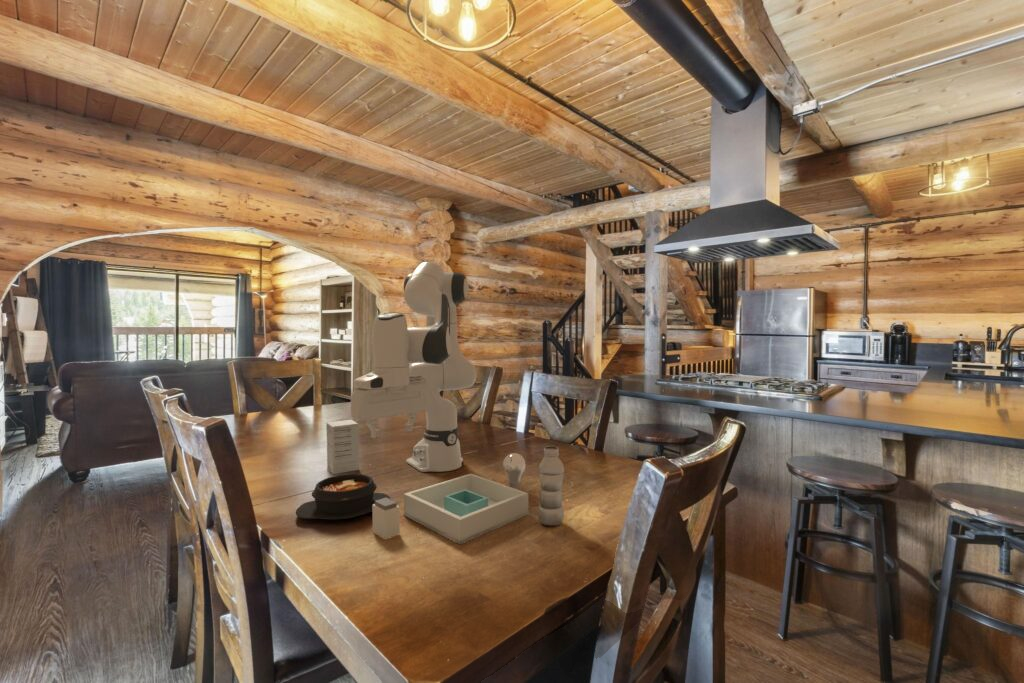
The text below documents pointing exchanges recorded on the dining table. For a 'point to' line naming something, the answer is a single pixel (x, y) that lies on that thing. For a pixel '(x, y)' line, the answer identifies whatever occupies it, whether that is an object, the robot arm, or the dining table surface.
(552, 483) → the plastic bottle
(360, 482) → the casserole
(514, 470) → the light bulb
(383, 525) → the grey-topped white block
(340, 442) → the supplement box
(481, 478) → the walled box
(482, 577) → the dining table surface
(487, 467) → the dining table surface
